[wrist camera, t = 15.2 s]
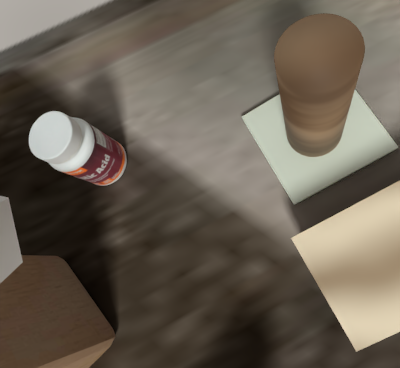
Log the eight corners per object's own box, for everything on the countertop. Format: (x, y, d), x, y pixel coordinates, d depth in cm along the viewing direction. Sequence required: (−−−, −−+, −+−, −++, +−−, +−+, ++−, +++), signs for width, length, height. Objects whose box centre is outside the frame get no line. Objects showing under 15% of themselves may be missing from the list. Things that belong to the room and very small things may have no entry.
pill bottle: (98, 196, 35) (37, 176, 27) (78, 159, 36) (15, 130, 29) (136, 167, 34) (85, 139, 26) (114, 130, 36) (60, 94, 28)
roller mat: (242, 119, 32) (241, 117, 32) (333, 64, 31) (333, 61, 30) (294, 205, 29) (293, 204, 29) (397, 149, 28) (398, 147, 27)
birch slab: (293, 241, 29) (290, 238, 25) (436, 165, 27) (456, 150, 23) (349, 338, 26) (356, 351, 22) (511, 263, 24) (548, 263, 21)
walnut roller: (276, 123, 31) (259, 44, 19) (323, 96, 30) (334, -2, 19) (303, 166, 29) (301, 108, 18) (353, 139, 28) (383, 60, 17)
